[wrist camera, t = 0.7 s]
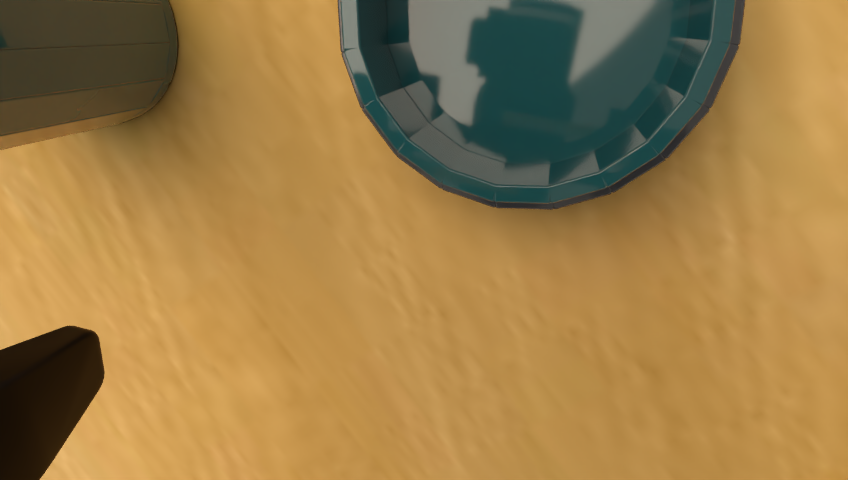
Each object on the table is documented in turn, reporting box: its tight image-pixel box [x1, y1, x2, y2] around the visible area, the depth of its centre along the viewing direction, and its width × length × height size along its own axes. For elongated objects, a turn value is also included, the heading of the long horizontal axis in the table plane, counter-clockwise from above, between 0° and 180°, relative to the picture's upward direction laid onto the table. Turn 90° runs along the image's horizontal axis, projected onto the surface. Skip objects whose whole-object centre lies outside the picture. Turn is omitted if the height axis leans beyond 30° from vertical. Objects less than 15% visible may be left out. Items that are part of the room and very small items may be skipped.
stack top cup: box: [340, 0, 736, 204], centre depth 18 cm, size 10×10×5 cm
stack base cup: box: [338, 0, 745, 210], centre depth 19 cm, size 11×11×3 cm
